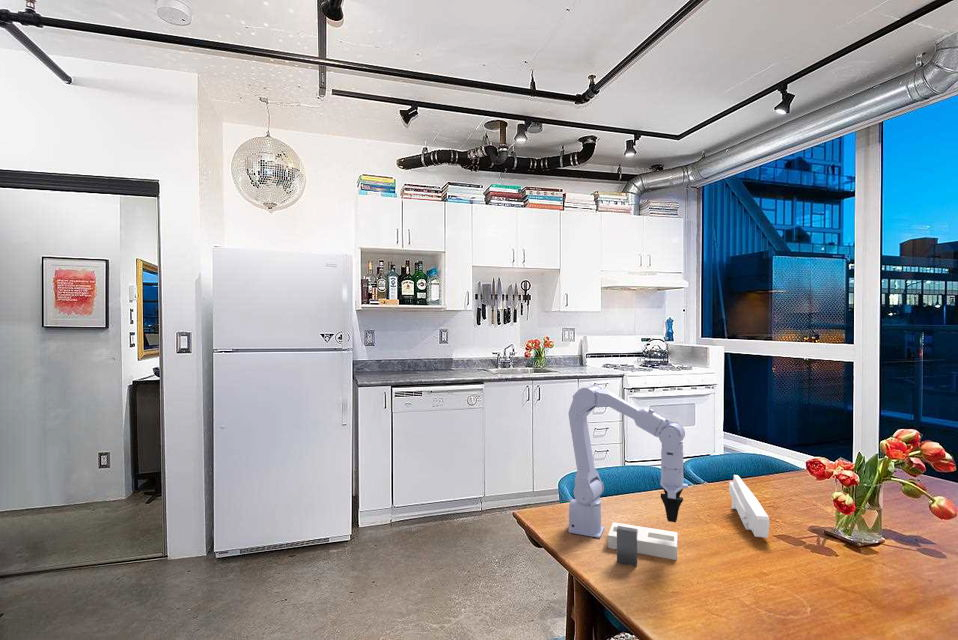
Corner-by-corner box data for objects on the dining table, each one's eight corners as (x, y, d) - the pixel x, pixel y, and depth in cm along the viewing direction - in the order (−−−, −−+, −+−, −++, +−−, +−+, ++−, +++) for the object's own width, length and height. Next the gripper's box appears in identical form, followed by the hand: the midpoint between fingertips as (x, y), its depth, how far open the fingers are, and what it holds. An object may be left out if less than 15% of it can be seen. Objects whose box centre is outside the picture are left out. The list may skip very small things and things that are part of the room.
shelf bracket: (742, 509, 164) (744, 475, 162) (770, 557, 140) (774, 519, 138) (725, 508, 166) (727, 474, 163) (750, 556, 141) (753, 517, 139)
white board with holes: (607, 547, 135) (607, 535, 135) (613, 533, 145) (612, 522, 145) (676, 560, 128) (676, 546, 128) (677, 544, 137) (677, 532, 137)
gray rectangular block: (616, 563, 127) (616, 528, 127) (617, 559, 128) (617, 525, 129) (636, 566, 125) (636, 531, 125) (637, 563, 126) (637, 528, 127)
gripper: (688, 476, 125) (688, 528, 125) (687, 462, 138) (687, 509, 138) (659, 473, 128) (659, 524, 128) (661, 459, 141) (661, 505, 141)
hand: (672, 516), depth 133 cm, fingers open, 7 cm apart
